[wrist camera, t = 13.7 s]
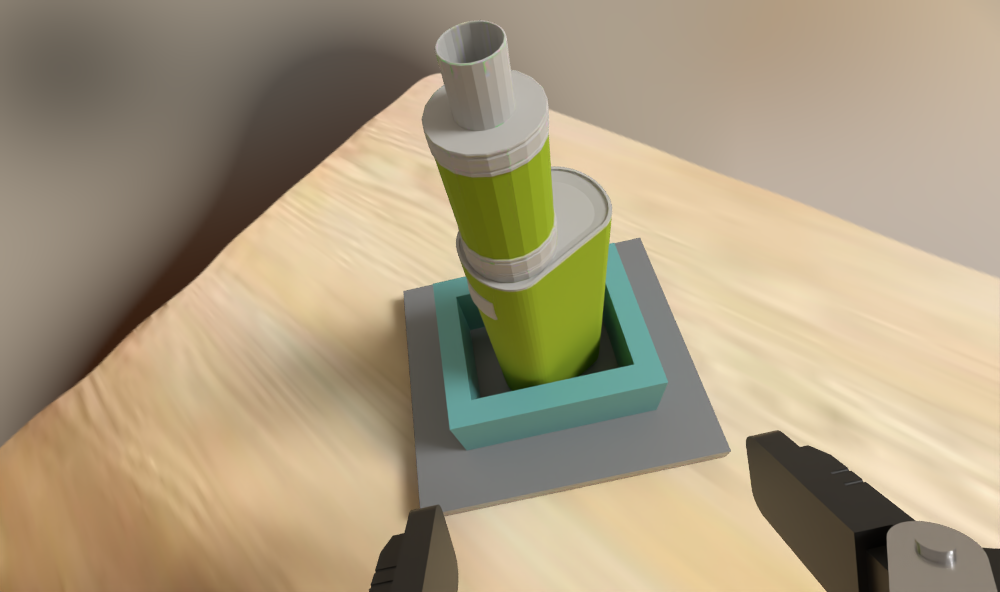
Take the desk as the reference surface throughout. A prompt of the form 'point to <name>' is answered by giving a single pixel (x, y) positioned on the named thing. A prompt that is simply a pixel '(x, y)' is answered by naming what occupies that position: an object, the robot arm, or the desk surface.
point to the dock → (553, 399)
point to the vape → (518, 211)
